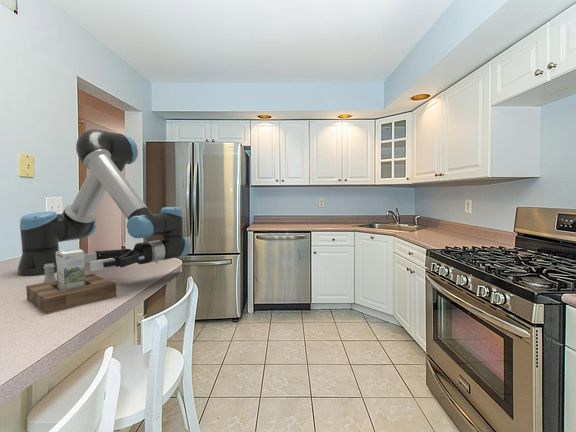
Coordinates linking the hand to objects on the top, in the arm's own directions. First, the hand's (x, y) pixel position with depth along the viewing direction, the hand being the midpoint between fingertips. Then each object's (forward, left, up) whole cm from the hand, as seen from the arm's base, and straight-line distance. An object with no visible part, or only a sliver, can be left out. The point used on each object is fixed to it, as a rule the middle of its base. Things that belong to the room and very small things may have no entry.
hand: (81, 263), depth 99 cm
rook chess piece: (-17, -4, -10) cm, 21 cm away
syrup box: (0, -3, -10) cm, 11 cm away
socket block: (0, -3, -10) cm, 11 cm away
